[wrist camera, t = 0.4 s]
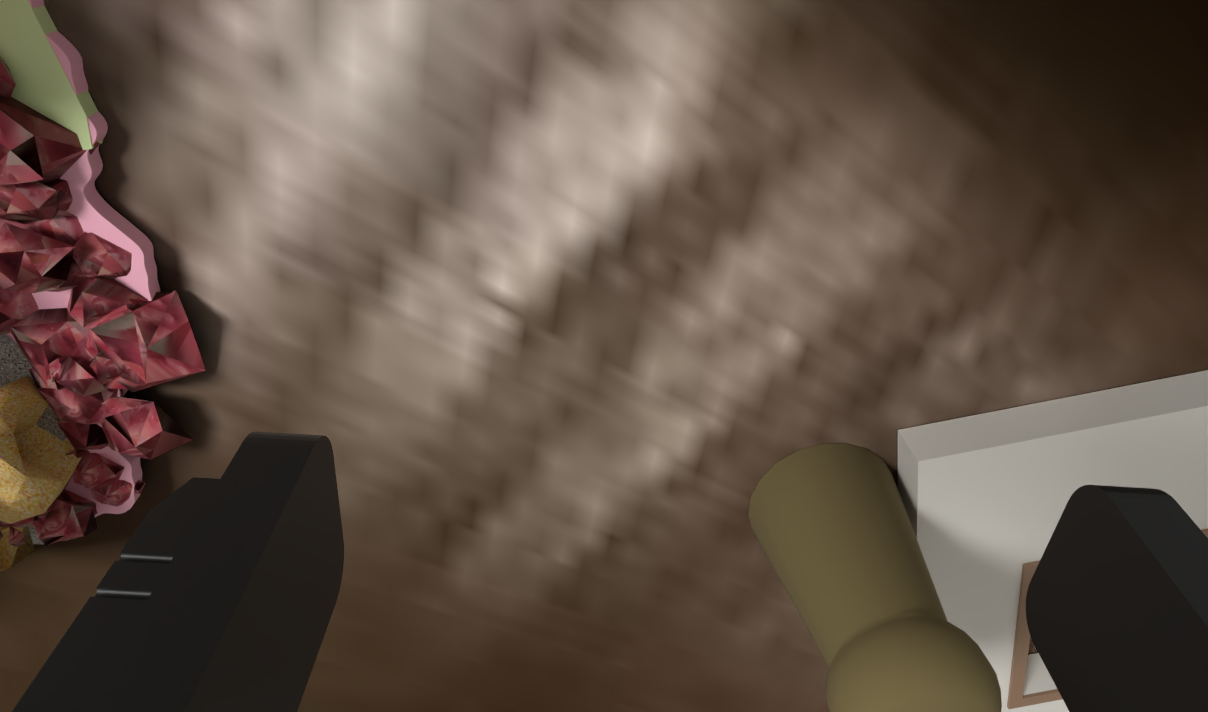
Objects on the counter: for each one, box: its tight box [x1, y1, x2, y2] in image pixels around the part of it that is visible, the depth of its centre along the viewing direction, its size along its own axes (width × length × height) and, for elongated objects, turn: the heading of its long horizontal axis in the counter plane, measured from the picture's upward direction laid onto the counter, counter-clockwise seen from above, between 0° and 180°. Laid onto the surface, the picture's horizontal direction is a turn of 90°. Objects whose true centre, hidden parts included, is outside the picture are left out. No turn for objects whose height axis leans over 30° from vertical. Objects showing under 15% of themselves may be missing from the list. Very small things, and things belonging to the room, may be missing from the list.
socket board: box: [897, 370, 1208, 712], centre depth 37 cm, size 22×18×2 cm
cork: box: [748, 443, 1002, 712], centre depth 30 cm, size 6×6×11 cm
